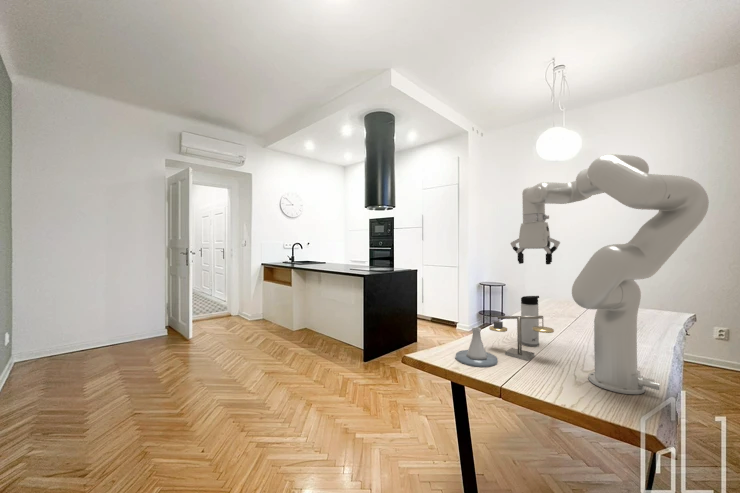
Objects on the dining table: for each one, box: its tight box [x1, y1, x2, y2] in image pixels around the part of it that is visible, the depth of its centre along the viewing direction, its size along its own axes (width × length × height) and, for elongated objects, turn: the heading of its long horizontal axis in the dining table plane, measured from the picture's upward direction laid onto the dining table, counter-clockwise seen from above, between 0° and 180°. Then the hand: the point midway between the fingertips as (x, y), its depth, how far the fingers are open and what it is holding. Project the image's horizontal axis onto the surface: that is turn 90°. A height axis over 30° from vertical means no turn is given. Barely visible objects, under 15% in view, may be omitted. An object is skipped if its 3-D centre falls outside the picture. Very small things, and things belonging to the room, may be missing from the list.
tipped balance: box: [488, 315, 555, 361], centre depth 109 cm, size 22×6×16 cm, turn 42°
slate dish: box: [455, 349, 499, 368], centre depth 106 cm, size 14×14×1 cm
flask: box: [466, 327, 487, 360], centre depth 106 cm, size 7×7×10 cm
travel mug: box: [520, 295, 540, 348], centre depth 121 cm, size 6×7×20 cm
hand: (534, 263), depth 114 cm, fingers open, 9 cm apart
